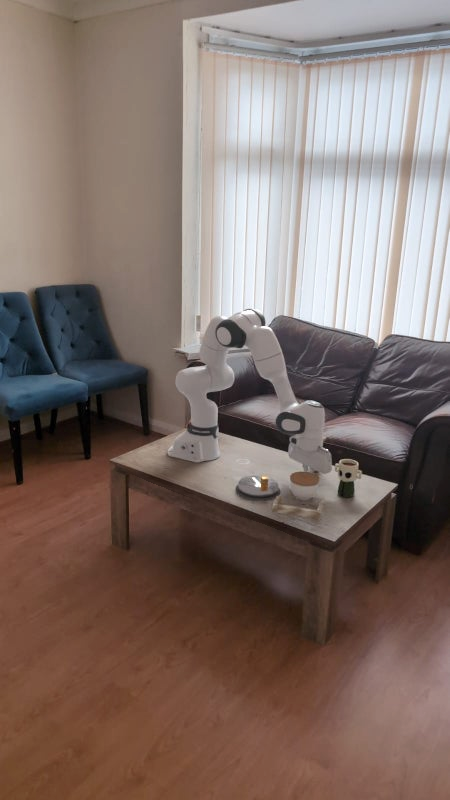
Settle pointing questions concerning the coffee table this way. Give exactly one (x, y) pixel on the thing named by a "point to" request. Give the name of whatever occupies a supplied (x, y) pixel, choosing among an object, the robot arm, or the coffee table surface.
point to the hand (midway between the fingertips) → (308, 476)
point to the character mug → (347, 476)
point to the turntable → (258, 486)
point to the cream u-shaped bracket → (297, 510)
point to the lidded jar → (304, 485)
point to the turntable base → (257, 498)
